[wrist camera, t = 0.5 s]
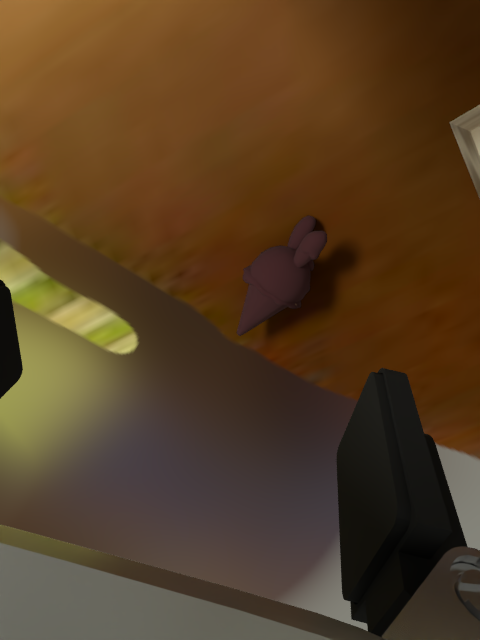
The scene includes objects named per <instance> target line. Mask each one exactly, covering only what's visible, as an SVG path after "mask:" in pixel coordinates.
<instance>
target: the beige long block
mask: <svg viewBox="0 0 480 640" xmlns="http://www.w3.org/2000/svg"><path fill="white" fill-rule="evenodd" d="M450 125H451V128H452V130H453V133H454V135H455V138H456V140H457V143H458V145H459V148H460V151H461V153H462V156H463V158H464V161H465V163H466V166H467V168H468V171H469V173H470V176H471V178H472V181H473V183H474V186H475V188H476V191H477V193H478V196H479V198H480V105H478V106H477V107H475V108H473V109H472V110H470V111H468V112H467V113H465V114H463V115H461V116H460V117H458V118H456V119H455V120H453V121H451V122H450Z"/></svg>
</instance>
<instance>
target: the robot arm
mask: <svg viewBox="0 0 480 640" xmlns="http://www.w3.org/2000/svg"><path fill="white" fill-rule="evenodd" d="M22 370H23V369H22V361H21V355H20V348H19V342H18V336H17V330H16V324H15V317H14V311H13V305H12V299H11V293H10V290H9V288H8V287H6V286H5V284H4V282H3V281H2V280H0V398H1V397H2V396H3V395H4V394H5V393H6V392H7V391H8V390H9V389H10V388H11V387H12V386H13V385H14V384H15V383H16V382H17V381H18V380H19V378H20V377H21V374H22ZM337 481H338V502H339V503H338V504H339V528H340V553H341V575H342V594H343V598H344V600H347V601H351V617H352V619H353V620H356V621H360V622H364V623H367V625H368V631H366V630H363V629H361V628H358V627H356V626H353V625H350V624H347V623H344V622H341V621H338V620H335V619H332V618H330V617H327V616H324V615H321V614H318V613H315V612H312V611H308V610H305V609H302V608H298V607H295V606H291V605H288V604H285V603H281V602H278V601H275V600H271V599H268V598H264V597H261V596H258V595H254V594H251V593H248V592H244V591H240V590H237V589H234V588H230V587H227V586H223V585H219V584H216V583H212V582H209V581H205V580H201V579H198V578H194V577H190V576H187V575H183V574H180V573H176V572H173V571H169V570H165V569H161V568H158V567H154V566H151V565H147V564H144V563H140V562H136V561H133V560H129V559H125V558H122V557H118V556H115V555H111V554H107V553H104V552H100V551H96V550H92V549H89V548H85V547H82V546H78V545H74V544H70V543H67V542H63V541H59V540H56V539H52V538H48V537H44V536H41V535H37V534H34V533H30V532H26V531H22V530H19V529H15V528H11V527H8V526H4V525H0V640H480V550H477V549H475V548H470V547H467V544H466V541H465V538H464V535H463V531H462V528H461V525H460V522H459V518H458V516H457V512H456V509H455V506H454V502H453V500H452V496H451V493H450V490H449V486H448V484H447V480H446V477H445V474H444V470H443V468H442V464H441V461H440V458H439V455H438V451H437V448H436V445H435V442H434V440H433V438H432V437H431V436H430V435H428V434H424V432H423V429H422V425H421V422H420V418H419V415H418V411H417V408H416V405H415V401H414V398H413V394H412V391H411V387H410V384H409V380H408V377H407V375H406V374H405V373H401V372H397V371H393V370H388V369H384V368H381V369H380V370H379V371H378V373H375V372H371V373H370V375H369V377H368V379H367V381H366V384H365V386H364V388H363V391H362V393H361V395H360V398H359V400H358V402H357V405H356V407H355V409H354V412H353V414H352V416H351V419H350V421H349V423H348V426H347V428H346V431H345V433H344V435H343V438H342V440H341V442H340V445H339V447H338V452H337Z"/></svg>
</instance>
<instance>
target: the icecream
mask: <svg viewBox="0 0 480 640" xmlns="http://www.w3.org/2000/svg"><path fill="white" fill-rule="evenodd" d="M315 223H316V219H315V218H314V217H312V216H306V217H304V218H302V220H301V221H300V222H299V223H298V224H297V225H296V226H295V228H294V230H293V232H292V234H291V236H290V239H289V243H288V247H285V246H276V247H272V248H269V249H267V250H265V251H264V252H262V253H261V254H260V255H259V256H258V257H257V258H256V260H255V261H254V262H253V263H252V265H251V266H248V267H247V268H244V269H243V270H244V275H243V280H244V281H245V282H246V283H248V284H249V288H248V292H247V296H246V300H245V303H244V307H243V311H242V315H241V319H240V322H239V326H238V330H237V334H238V335H239V336H241V335H243V334H244V333H246V332H248V331H249V330H251V329H253V328H254V327H256V326H257V325H259V324H261V323H262V322H264V321H265V320H267V319H269V318H270V317H272V316H273V315H275V314H277V313H278V312H280V311H282V310H283V309H285V308H286V307H289V308H292V309H297V308H300V307H301V300H302V299H303V298H304V296H305V295H306V293H307V292H309V291H310V271H312V270H313V268H314V266H315V265H314V262H313V260H315V259H317V258H318V257H319V254H320V252H321V251H322V249H323V248H324V246H325V244H326V242H327V234H326V233H325V232H324V231H313V229H314V227H315ZM312 231H313V232H312Z"/></svg>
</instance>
